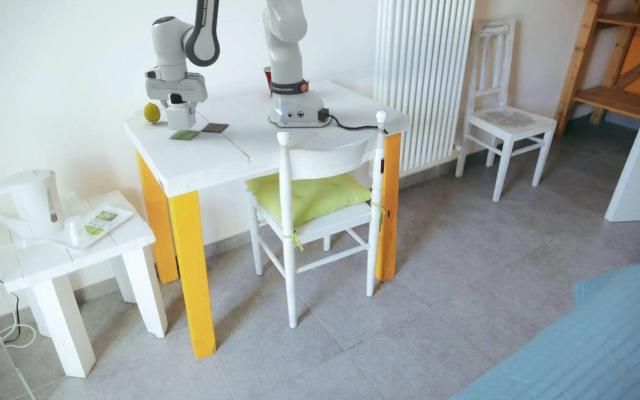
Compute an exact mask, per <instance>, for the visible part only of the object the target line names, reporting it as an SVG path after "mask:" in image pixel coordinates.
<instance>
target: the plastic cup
mask: <svg viewBox="0 0 640 400" xmlns="http://www.w3.org/2000/svg"><path fill="white" fill-rule="evenodd" d="M262 71H263V72H264V74H265V77H266V81H267V85H268V88H269V91H270V93H271V88H270V84H271V80H272V79H271V67H270V65H268V66H265V67H263V68H262Z"/></svg>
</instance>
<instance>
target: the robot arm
mask: <svg viewBox="0 0 640 400" xmlns="http://www.w3.org/2000/svg"><path fill="white" fill-rule="evenodd" d="M266 4H267V5H266V6H265V7H264V9H263V11H262V14H261V18H262V23H263V24H262V25H263V29H264V35H265V41H266V46H267V51H268V57H269V66H270V67H271V79H272V80H271V84H270V88H271V92H270V95H271V111H270V115H269V120H270V121H271V123H273V124H276V125H278V127H280V128H322V127H324V126H327V125H328V124H329V123H330V121H331V120H332V119H333V120H334V121H335V123H336V124H337V125H338V126H339V127H340V128H342V129H344V130H361V129H379V128H378V125H362V126H356V127H355V126H344V125H342V124H341V123H340V121H339V120H338V118H337V117H336V116H334V115H332V113H331V112H330V108H327V107H326V106H325V102H324V100H323V99H322V98H320V97H319V96H318V95H317V94H315V93H314V92H313V91H312V90H310V88H309V87H310V86H309V85H310V80H309V79H308V80H306V79H305V78H304V77H303V76H304V75H303V56H302V53H301V52H302V51H301V50H300V46H299V42H300V41H302V40H303V39H304V38H305V36H306V35H307V32H308V28H309V27H308V21H307V19H306V16H305V13H304V8H303V3H302V0H266ZM219 5H220V0H196V3H195V13H194V24H192V23H188V22H185V21H183V20H181V19H179V18H178V17H176V16H174V15H169V16H163V17H160V18H157V19H156V20H155V21H153V23H152V25H151V39H152V44H153V49H154V52H155V54H156V66H153V67H151V68H149V69H148V70H146V71H144V73H143V74H144V78H145V83H144V84H145V85H144V86H145V92H146V95H147V97H148V98H149V99H150V100H153V101H154V100H156V101H159V102H160V105H161V106H162V107H163V108H164V111H165V112H166V109H167V108H168V107H169V106H170V104H169V102H168V101H169V97H168V95H169V94H171V93H175V94H179V95H181V96H182V101H185V102H189V103H191V105H192V108H190V109H189V113H190V114H193V115H194V114H195V115H196V113H197V112H196V107H197V105H198V103H201V104H202V103H204V102H206V101H207V99H208V98H209V93H208V90H207V87H206V80H205V77H204V76H203V75H202V74H201V73H200V72H193V71H192V72H191V71H190V72H189V71H188V65H187V60H186V59H188V61H189V62H190V63H191V64H193V65H194V66H196V67H199V68H206V67H211V66H212V65H214V64H215V63H216V62H217V61H218V60H219V57H220V54H221V46H220V41H219V39H218V34H217V33H218V32H217V28H218V27H217V26H218V18H219V7H220V6H219ZM382 131H383V132H384V133H385V134H386V135H389V132H388V131H387V130H386V128H384V130H382ZM390 217H391V210H387V218H390Z"/></svg>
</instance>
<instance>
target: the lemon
mask: <svg viewBox="0 0 640 400" xmlns="http://www.w3.org/2000/svg"><path fill="white" fill-rule="evenodd" d="M161 115H162V113H161V110H160V108H159V106H158V105H157V104H156V103H153V102H148V103H147V104H145V106H144V107H143V116H144V118H145V120H146V121H147V122H148V123H152V124H153V125H156V123H157V122H159V121H160V119H161V117H162V116H161Z"/></svg>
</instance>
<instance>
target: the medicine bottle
mask: <svg viewBox="0 0 640 400" xmlns="http://www.w3.org/2000/svg"><path fill="white" fill-rule="evenodd" d="M168 97H169V100H168V104H169V107H168V108H167V109H166V111H165V114H166V120H167V125H168V130H170V131H180V130H191V129H192V128H193V127H194V126H195V125H196V124H197V118H196V113H195V114H194V115H193V114H190V113H189V109H190V108H192V105H191V103H190V102H185V101H182V96H181V95H179V94H175V93H171V94H169V95H168Z"/></svg>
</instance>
